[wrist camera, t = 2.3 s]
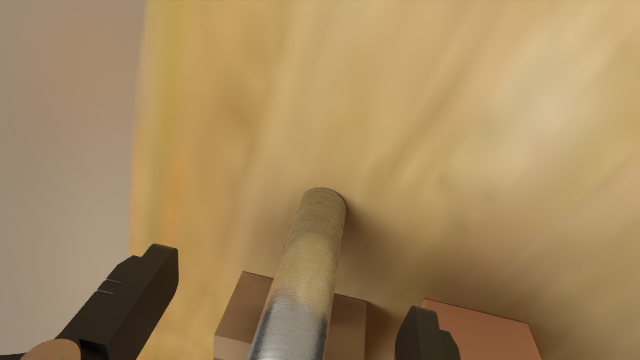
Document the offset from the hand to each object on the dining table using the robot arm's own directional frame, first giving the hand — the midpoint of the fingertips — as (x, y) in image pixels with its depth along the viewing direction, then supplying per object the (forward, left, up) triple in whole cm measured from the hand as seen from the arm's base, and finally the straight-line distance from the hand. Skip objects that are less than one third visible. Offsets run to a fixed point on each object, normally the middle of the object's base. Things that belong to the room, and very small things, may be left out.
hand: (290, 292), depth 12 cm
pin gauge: (0, 0, -6) cm, 6 cm away
